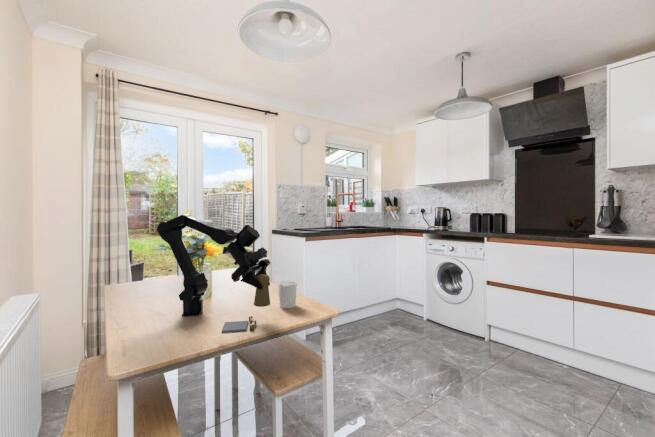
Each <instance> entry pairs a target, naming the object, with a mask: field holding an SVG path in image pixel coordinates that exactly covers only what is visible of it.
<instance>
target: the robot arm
mask: <svg viewBox="0 0 655 437" xmlns="http://www.w3.org/2000/svg"><path fill="white" fill-rule="evenodd" d="M187 227H188V228H190V229H192V230H195V231H197V232H200V233H202V234H204V235H206V236H208V237H209V238H210V239H211V240H212V241H213V242H214V243H215V244H216V243H217V244H218V245H227V244H228V245H227V246H223V250H222V254H223V255H227V254H229V255H230V256H231V258H232V259H233V260H234V262H233V263H234V265H235V266H237V265H238V267H237V268H235V270H234V271H233V272H232V274H231V276H230V277H231V280H232V281H233V282H234V283H236V282H238V281H240V282H243V283H246V284H248V285H250V286H252V287H254V288H255V289H256V288H258V289H260V290H261V289H262V288H263V287H262V285H261V283H260V282H259V280H258V279H257V277H256V276H258V275H261V274H265V275H268V274H267V268H268V267H269V265H271V264H272V263H271V261H270V260H269V259H268V258H267V257H268V255H267V254H268V250H267V249H266V248H264V247H260V248H258V249H257V250H255V251H248V250H247V249H246V248H250V247H251V246H252V245H253V244H254V243H255V242H256V241H257V240H258V239H259V238H260V237H261V235H260V233H259V231H258V230H257V229H255V228H254V227H251V225H249V224H245V225H244V226H243V227H242V229H241V230H239V232H236V231H235V230H234V229H232V228H230V227H229V228H228V227H224V226H217V225H214V224H211V223H208V222H206V221H204V220H201V219H199V218H197V217H195V216H193V215H192V214H180V215H179V216H177V217H174V218H171V219H168V220H165V221H161V222H159V223H158V225H157V227H156V231H157V233H158V235H159V237H161V238H160V239H162V240H163V241H164V242H165V243H167V244H168V245H169V247H170V250H171V251H172V254H173V256H174V258H175V260H176V262H177V265H178V268H179V269H180V271H181V273H182V275H183V282H182V283H183V284H182V285H183V290H182V291H181V292H180V293H179V294H178V298H179V300H180V301H182V314H181V316H182V317H185V316H186V317H187V316H188V317H189V316H199V315H201V313H202V312H203V311H204V300H203V299H202V296H204V295H205V293H206V291H207V289H208V287H209V284H208V282H209V280H208V279H207V278H206V275H205V273H204V272H200V271H197V269H196V267H195V264H194V263H193V261H192V259H191V256H190V255H189V253H188V250H187V247H186V245H185V243H184V241H183V230H184V229H185V228H187ZM266 258H267V259H266ZM240 279H241V280H240ZM270 285H271V283H270V281H269V283H268V287H269V286H270Z"/></svg>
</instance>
